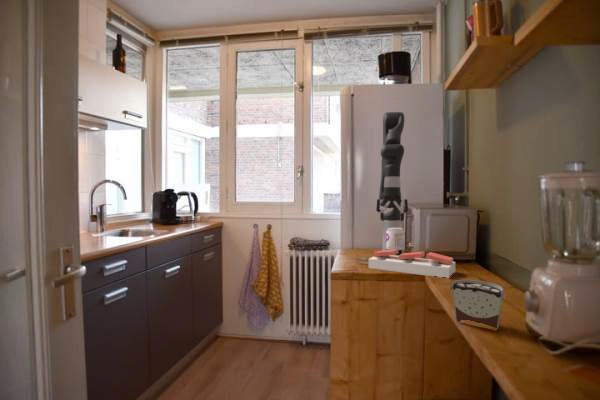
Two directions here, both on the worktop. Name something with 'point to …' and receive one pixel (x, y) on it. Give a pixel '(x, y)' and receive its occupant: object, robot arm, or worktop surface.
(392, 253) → the rocker
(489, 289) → the food container
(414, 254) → the rocker middle
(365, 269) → the worktop surface
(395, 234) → the supplement can
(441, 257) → the rocker
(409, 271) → the power strip
